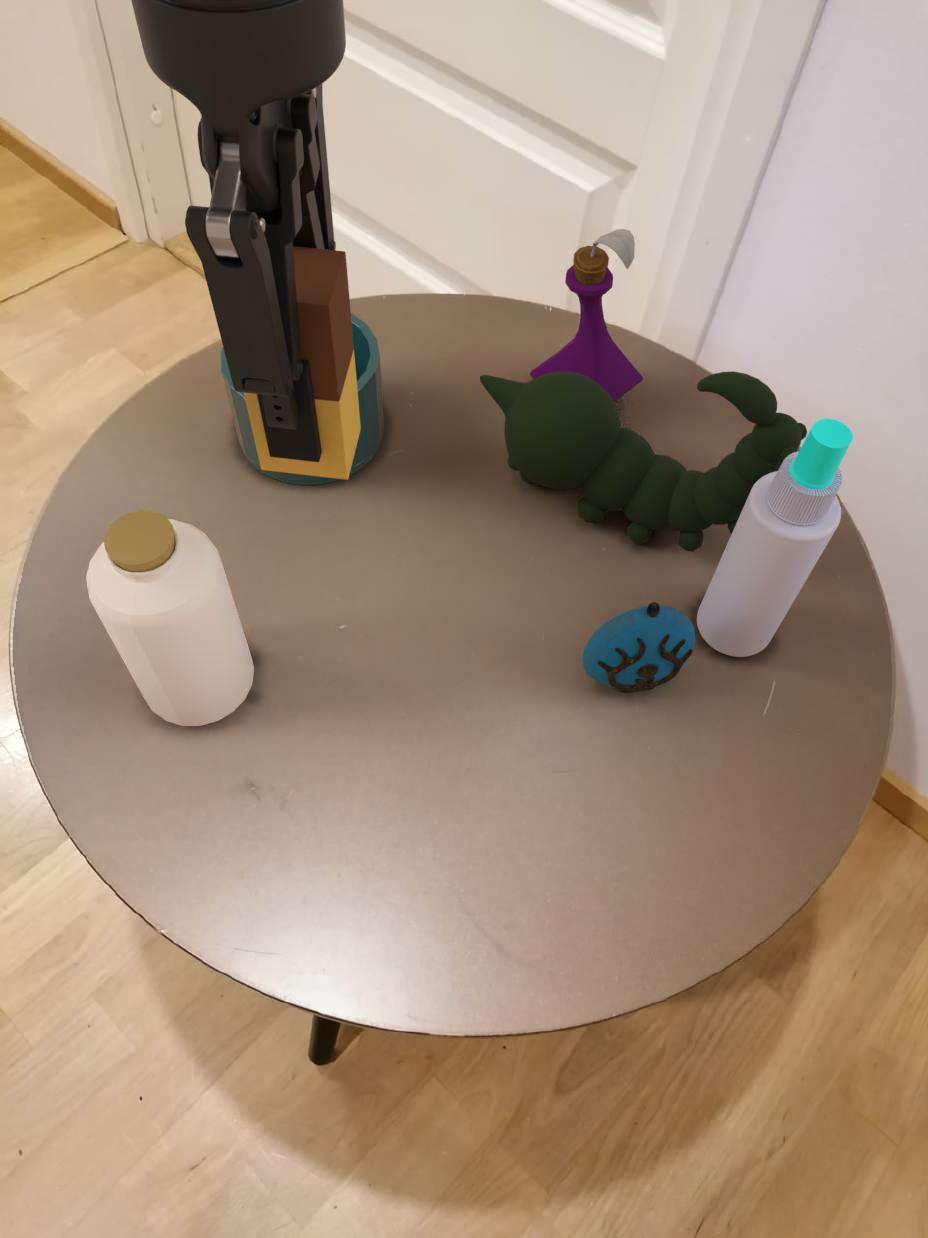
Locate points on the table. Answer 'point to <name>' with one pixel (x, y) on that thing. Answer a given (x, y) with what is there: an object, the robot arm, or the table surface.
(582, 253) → the perfume bottle
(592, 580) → the table surface
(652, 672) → the ornament
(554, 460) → the toy figurine
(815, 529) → the spray bottle
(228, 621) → the white plastic cylinder
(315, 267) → the sponge
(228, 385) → the teal hollow cylinder
